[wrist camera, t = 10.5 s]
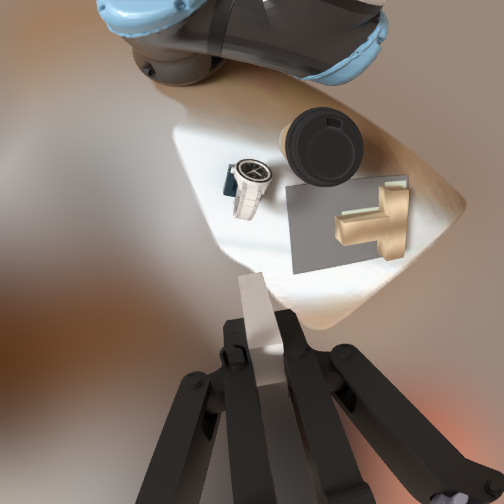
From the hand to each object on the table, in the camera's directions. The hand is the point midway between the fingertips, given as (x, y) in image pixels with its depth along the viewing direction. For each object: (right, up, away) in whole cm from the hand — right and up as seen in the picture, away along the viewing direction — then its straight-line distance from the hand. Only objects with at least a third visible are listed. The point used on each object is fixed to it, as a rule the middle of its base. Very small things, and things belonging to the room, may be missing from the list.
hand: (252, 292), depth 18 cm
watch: (-1, +14, +25) cm, 29 cm away
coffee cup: (+7, +20, +24) cm, 31 cm away
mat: (+18, +8, +30) cm, 36 cm away
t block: (+21, +8, +30) cm, 37 cm away
